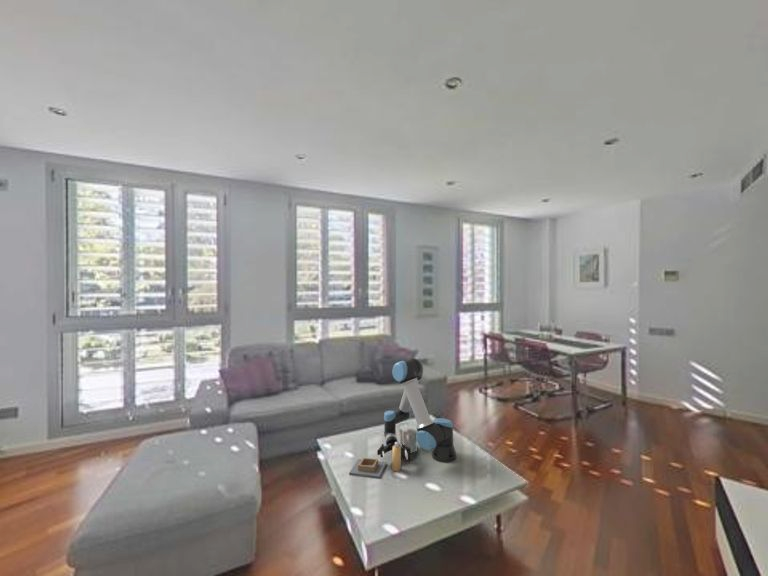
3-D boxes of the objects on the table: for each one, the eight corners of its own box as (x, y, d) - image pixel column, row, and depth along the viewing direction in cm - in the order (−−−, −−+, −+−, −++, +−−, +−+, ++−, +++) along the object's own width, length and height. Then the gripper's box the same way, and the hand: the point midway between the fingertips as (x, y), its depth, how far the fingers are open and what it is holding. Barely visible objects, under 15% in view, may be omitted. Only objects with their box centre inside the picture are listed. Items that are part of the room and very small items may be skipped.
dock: (386, 464, 219) (386, 457, 219) (379, 478, 204) (379, 470, 204) (358, 461, 224) (358, 454, 224) (349, 474, 209) (349, 467, 209)
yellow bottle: (402, 469, 212) (402, 443, 213) (395, 472, 209) (396, 445, 210) (396, 466, 216) (397, 440, 217) (390, 468, 213) (390, 442, 214)
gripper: (411, 446, 233) (416, 463, 212) (372, 448, 231) (374, 465, 210) (410, 434, 233) (416, 450, 212) (372, 437, 231) (374, 453, 209)
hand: (395, 458), depth 211 cm, fingers open, 13 cm apart
